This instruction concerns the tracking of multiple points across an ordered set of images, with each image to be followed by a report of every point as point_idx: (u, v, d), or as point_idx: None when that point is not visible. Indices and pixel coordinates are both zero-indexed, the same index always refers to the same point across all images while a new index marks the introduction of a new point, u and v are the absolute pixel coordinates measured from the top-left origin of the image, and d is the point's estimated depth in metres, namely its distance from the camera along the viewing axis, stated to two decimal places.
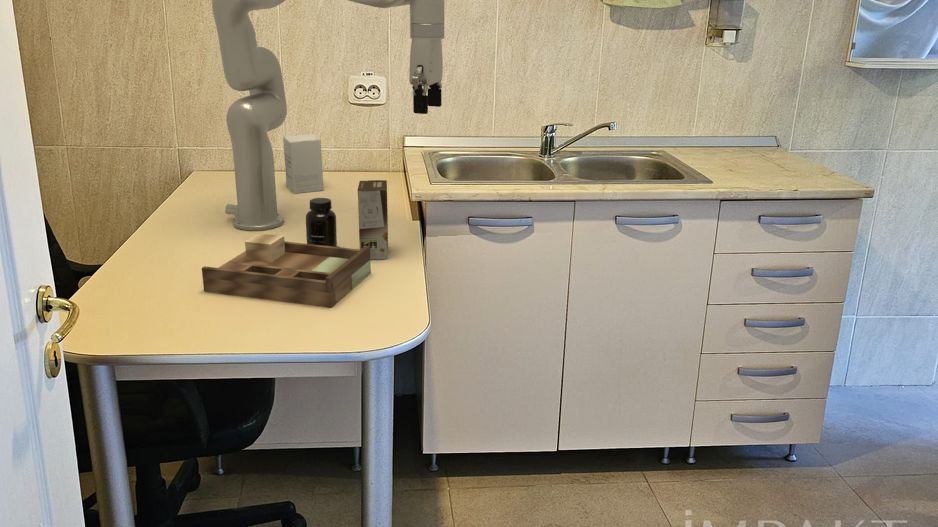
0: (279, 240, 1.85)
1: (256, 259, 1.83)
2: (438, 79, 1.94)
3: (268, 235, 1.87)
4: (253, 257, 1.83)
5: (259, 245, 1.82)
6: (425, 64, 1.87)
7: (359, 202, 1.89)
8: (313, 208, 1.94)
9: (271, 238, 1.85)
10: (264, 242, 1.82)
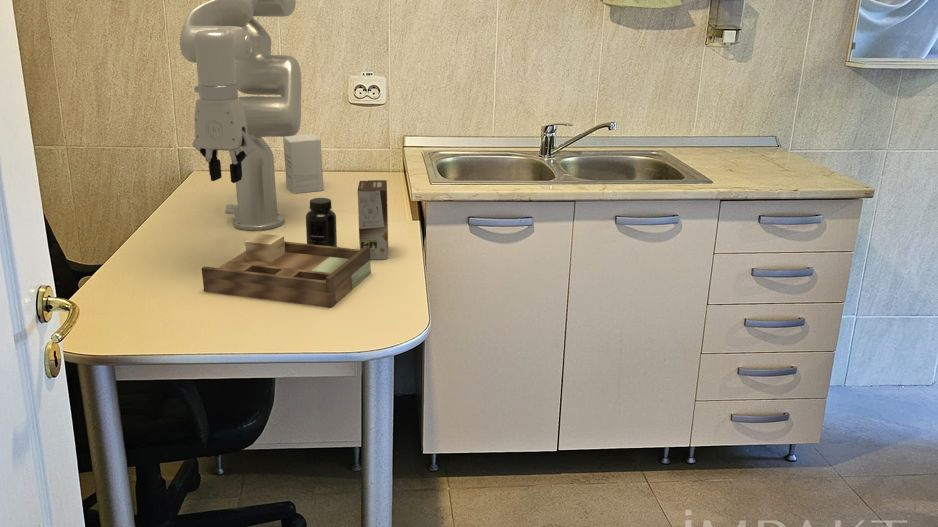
0: (279, 240, 1.85)
1: (256, 259, 1.83)
2: None
3: (268, 235, 1.87)
4: (253, 257, 1.83)
5: (259, 245, 1.82)
6: (245, 125, 1.78)
7: (359, 202, 1.89)
8: (313, 208, 1.94)
9: (271, 238, 1.85)
10: (264, 242, 1.82)
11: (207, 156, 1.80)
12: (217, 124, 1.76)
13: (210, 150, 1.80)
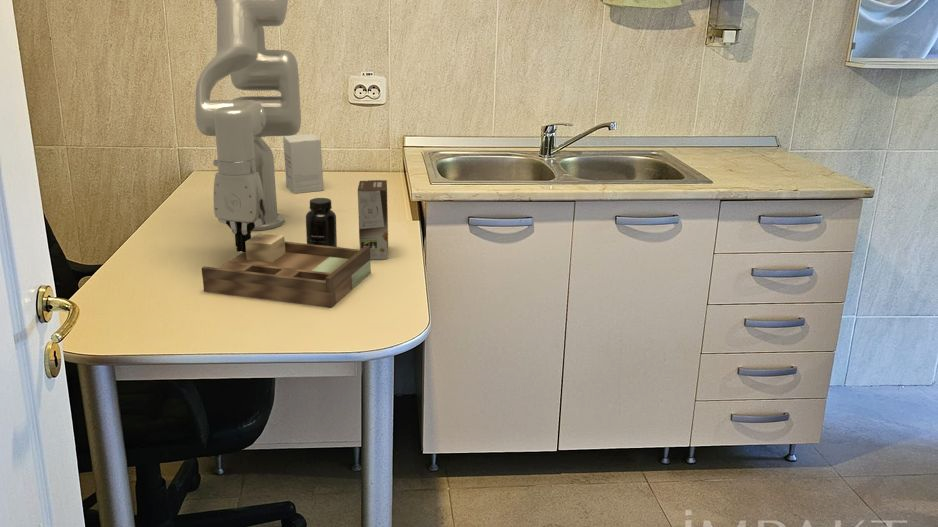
0: (279, 240, 1.85)
1: (256, 259, 1.83)
2: None
3: (268, 235, 1.87)
4: (254, 257, 1.83)
5: (259, 245, 1.82)
6: (263, 197, 1.83)
7: (359, 202, 1.89)
8: (313, 208, 1.94)
9: (271, 238, 1.85)
10: (264, 242, 1.82)
11: (232, 228, 1.84)
12: (235, 197, 1.80)
13: (233, 221, 1.84)
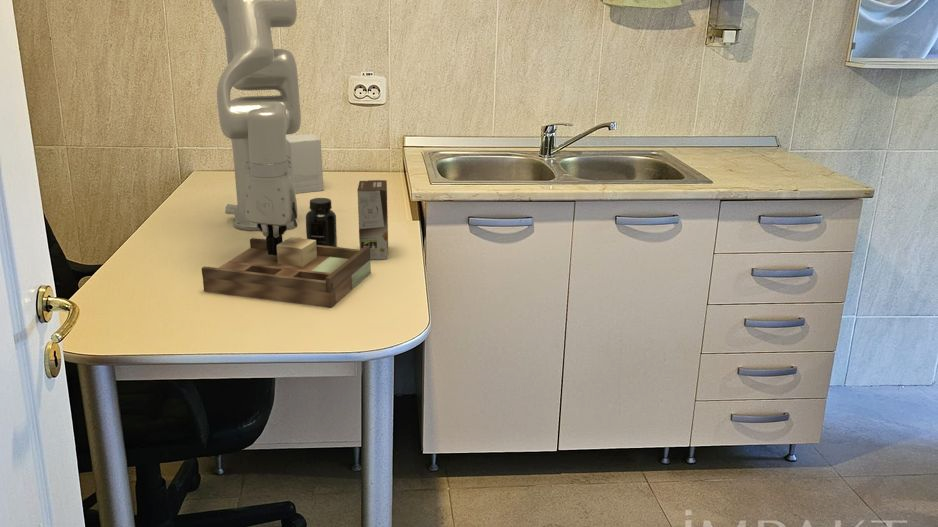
0: (311, 244, 1.82)
1: (287, 263, 1.81)
2: None
3: (300, 239, 1.84)
4: (285, 261, 1.81)
5: (291, 249, 1.80)
6: (295, 200, 1.81)
7: (359, 202, 1.89)
8: (313, 208, 1.94)
9: (303, 242, 1.83)
10: (296, 246, 1.80)
11: (264, 231, 1.82)
12: (268, 200, 1.78)
13: (265, 224, 1.82)
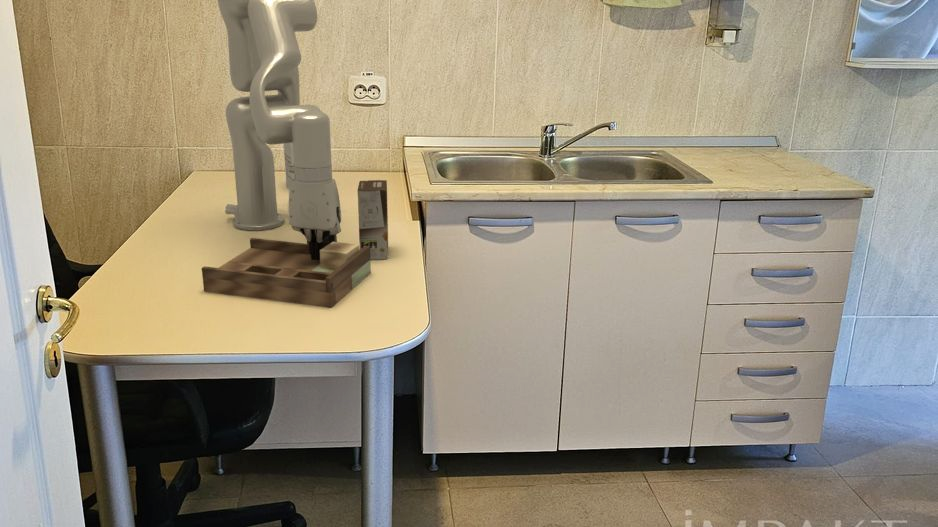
0: (354, 249, 1.80)
1: (331, 268, 1.79)
2: None
3: (343, 244, 1.82)
4: (328, 266, 1.79)
5: (334, 254, 1.77)
6: (339, 204, 1.78)
7: (359, 202, 1.89)
8: None
9: (346, 247, 1.80)
10: (339, 251, 1.77)
11: (307, 236, 1.80)
12: (312, 205, 1.75)
13: (308, 229, 1.79)
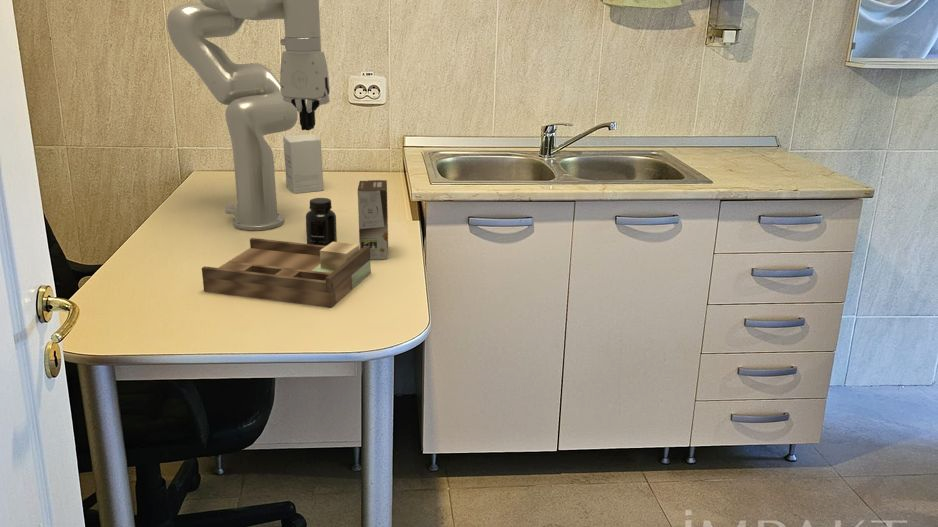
0: (354, 249, 1.80)
1: (331, 268, 1.79)
2: None
3: (343, 244, 1.82)
4: (328, 266, 1.79)
5: (334, 254, 1.77)
6: (327, 75, 1.90)
7: (359, 202, 1.89)
8: (313, 208, 1.94)
9: (346, 247, 1.80)
10: (339, 251, 1.77)
11: (298, 106, 1.92)
12: (302, 74, 1.87)
13: (299, 99, 1.91)
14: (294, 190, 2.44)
